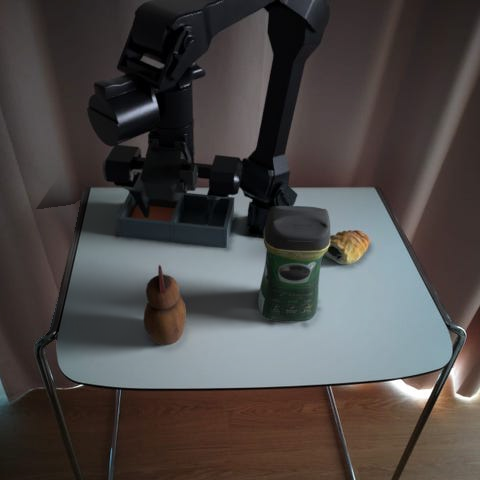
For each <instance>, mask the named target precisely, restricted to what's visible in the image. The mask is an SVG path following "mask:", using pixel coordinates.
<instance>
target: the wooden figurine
mask: <svg viewBox="0 0 480 480" xmlns="http://www.w3.org/2000/svg"><path fill="white" fill-rule="evenodd" d="M157 271H158V272H157V273H158V274H157V275H155V276H153V277H152V278H151V279H149V281H148V282H147V284H146V288H145V297H146V301H147V302H146V305H145V308H144V313H143V314H144V315H143V328H144V330H145V332H146V334H147V335H148V336H149V337H150V339H151V340H152V341H153V342H154V343H156V344H158V345H160V346H170V345H173V344H175V343H177V342H178V341H179V340H180V339H181V338H182V335H183V333H184V330H185V325H186V322H187V321H186V320H187V310H186V309H187V308H186V303H185V301H184V299H183V298H182V296H181V295H180V288H179V284H178V282H177V281H176V279H175V278H174V277H172V276H171V275H168V274H164V273H163V269H162V266H161V264H159V265H158V270H157Z"/></svg>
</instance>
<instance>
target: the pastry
mask: <svg viewBox="0 0 480 480" xmlns="http://www.w3.org/2000/svg"><path fill="white" fill-rule="evenodd" d="M370 243H371V239H370V237H369V236H368V235H367V234H365V233H364V232H363V231H362V230H356V229H355V230H351V229H349V230H342V231H338V232H336V234H332V235H331V234H330V245H329V248H328V250H327V251H326V253H325V254H324V255H323V256H325V257H327V258H329V259H331V260H333V261H335V262H336V263H337V264H340V265H351V264H352V265H353V264H354V263H356V262H357V261H359V259H361V258H362V257H363V255H364V254H365V253H366V251H367V250H368V249H369V246H370Z"/></svg>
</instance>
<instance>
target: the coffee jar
mask: <svg viewBox="0 0 480 480" xmlns="http://www.w3.org/2000/svg"><path fill="white" fill-rule="evenodd" d="M330 236H331V219H330V214H329V211H328V210H327V209H326V208H321V207H316V206H306V205H305V206H303V205H293V206H275V207H271V208H270V211H269V213H268V217H267V222H266V226H265V228H264V237H263V244H264V247H265V250H266V253H265V261H264V268H263V273H262V277H261V281H260V285H259V287H260V288H259V292H258V303H257V304H258V310H259V313H260V314H261V315H262V316H263V317H264V318H265V319H268V320H270V321H276V322H282V323H283V322H284V323H286V322H287V323H299V322H300V323H303V322H307V321H310V320H311V319H313V318H314V317H315V316H316V314H317V309H318V303H319V289H320V288H319V287H320V274H321V273H320V272H321V267H322V266H321V264H322V260H323V257H324V256H325V255H324V254H325V253H326V251H327V250H328V248H329V245H330Z"/></svg>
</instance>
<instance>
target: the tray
mask: <svg viewBox="0 0 480 480" xmlns="http://www.w3.org/2000/svg"><path fill="white" fill-rule="evenodd" d="M206 205H207V194H203V193H193V192H187V194H183V193H182V195H181V198H180V199H179V200H177V201H169V200H164V199H149V217H148V218H145V217H144V215H143V213H142V211H141V210H140V208H139V206H138V204H137V203H136V201H135V199H134V198H133V196H132V195H131V194H130V192H129V191H128V194H127V195H126V198H125V200H124V201H123V204H122V206H121V208H120V210H119V212H118V214H117V216H116V218H115V221H116V227H117V231H118V237H121V238H122V237H123V238H131V239H141V240H151V241H159V242H160V241H161V242H170V243H179V244H189V245H198V246H207V247H216V248H217V247H218V248H227V247H228V244H229V239H230V235H231V230H232V225H233V221H234V217H235V197H233V196H228V197H227V198H220V199H219V200H218V202H217V204H216V205H215V207H214V210H213V213H212V215H211V218H210V221H209V223H208V225H205V213H206Z"/></svg>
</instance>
